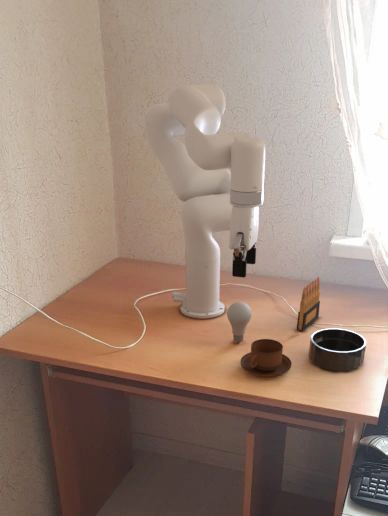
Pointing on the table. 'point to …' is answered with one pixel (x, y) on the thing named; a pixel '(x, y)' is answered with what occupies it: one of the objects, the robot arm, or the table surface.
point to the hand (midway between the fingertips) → (244, 269)
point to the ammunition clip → (309, 305)
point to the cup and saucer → (266, 359)
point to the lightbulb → (239, 319)
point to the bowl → (337, 349)
